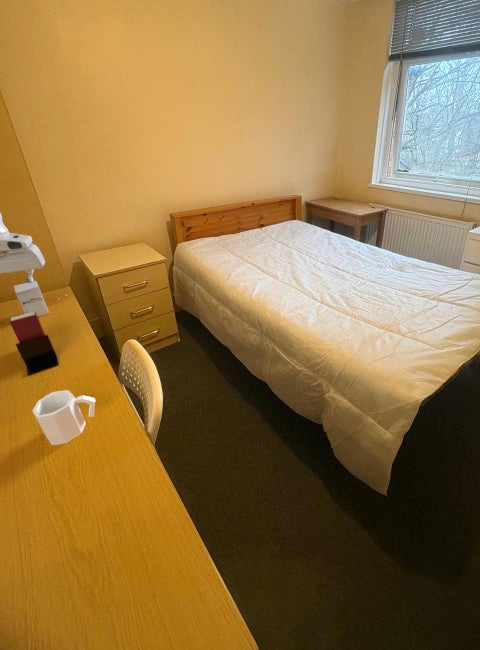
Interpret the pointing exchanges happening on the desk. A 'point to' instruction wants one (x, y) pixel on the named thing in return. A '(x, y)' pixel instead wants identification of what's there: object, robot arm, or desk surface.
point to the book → (27, 326)
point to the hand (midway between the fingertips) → (12, 284)
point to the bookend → (38, 354)
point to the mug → (62, 416)
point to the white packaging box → (31, 298)
